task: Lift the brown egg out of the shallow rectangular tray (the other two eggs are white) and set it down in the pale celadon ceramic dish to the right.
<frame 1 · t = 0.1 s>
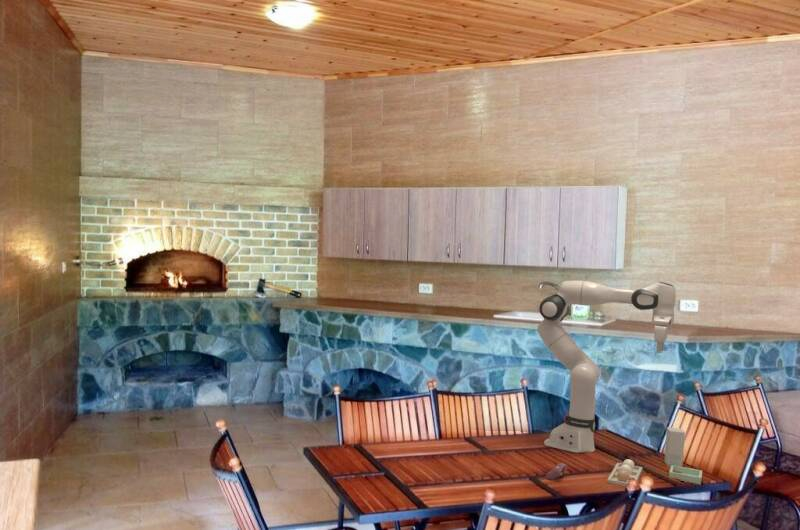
hand: (659, 351, 326), 48 cm above the table, tool pointing down, fingers open, 8 cm apart
white egg 1: (625, 476, 298), point 1 cm above the table, touching shallow rectangular tray
shallow rectangular tray: (625, 478, 298), on the table
dish: (685, 478, 305), on the table
skincare box: (672, 465, 324), on the table
brown animal figurine: (556, 478, 292), on the table
brown egg: (622, 481, 290), point 1 cm above the table, touching shallow rectangular tray
white egg 2: (628, 470, 306), point 1 cm above the table, touching shallow rectangular tray
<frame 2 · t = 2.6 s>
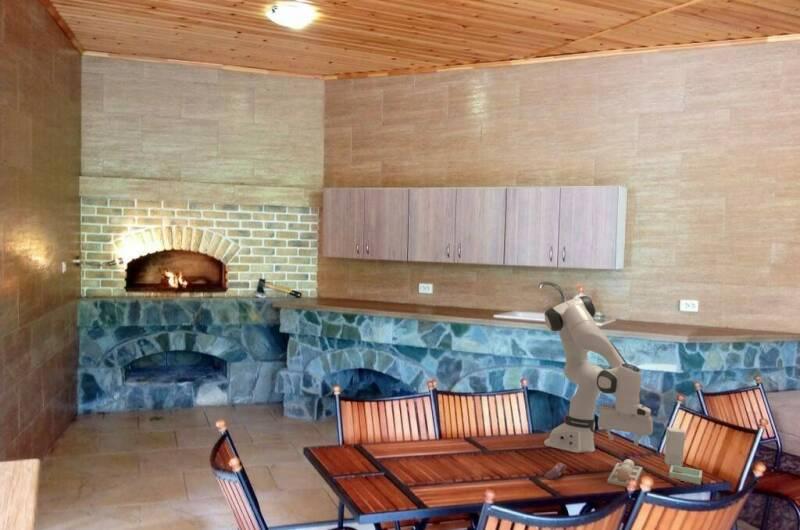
hand: (623, 442, 290), 16 cm above the table, tool pointing down, fingers open, 8 cm apart
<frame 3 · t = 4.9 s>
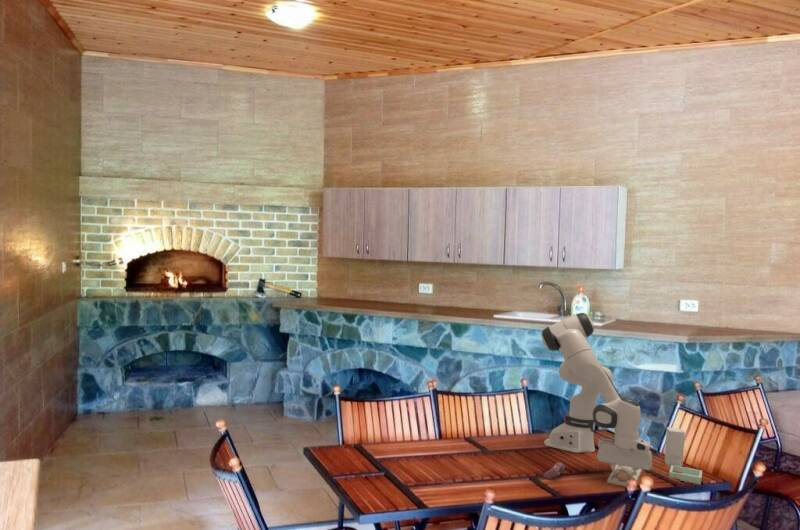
hand: (622, 476, 290), 3 cm above the table, tool pointing down, fingers closed on brown egg, 5 cm apart
brown egg: (622, 481, 290), point 1 cm above the table, touching shallow rectangular tray, gripper
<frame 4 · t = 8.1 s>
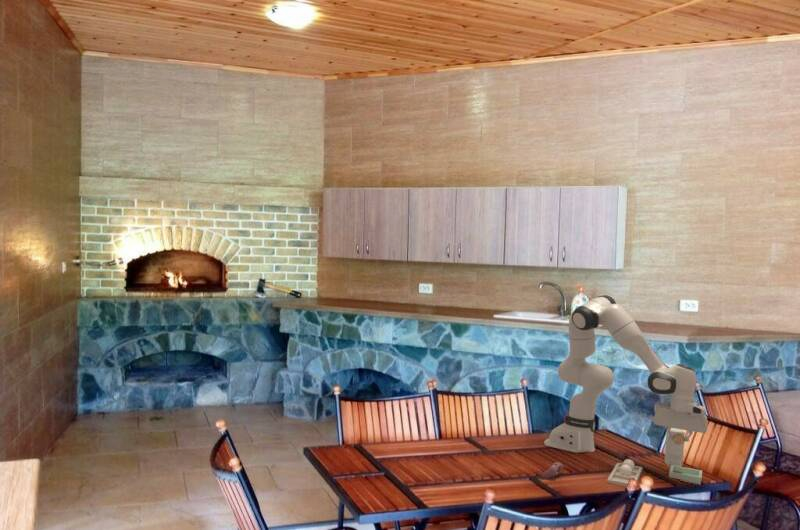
hand: (678, 439, 301), 16 cm above the table, tool pointing down, fingers closed on brown egg, 5 cm apart
brown egg: (678, 444, 301), point 14 cm above the table, touching gripper
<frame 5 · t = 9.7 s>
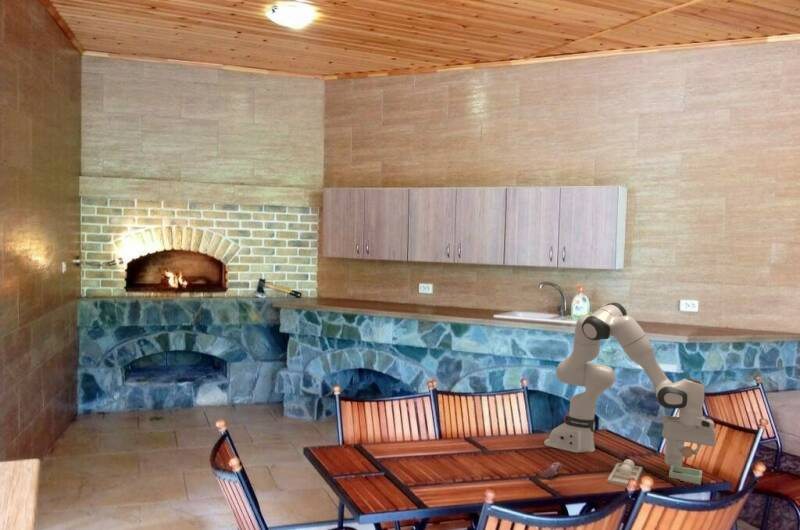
hand: (687, 453, 304), 11 cm above the table, tool pointing down, fingers closed on brown egg, 5 cm apart
brown egg: (686, 457, 304), point 9 cm above the table, touching gripper
when the fingers open (4 cm above the table, at t = 11.2 s): brown egg drops 2 cm, resting on dish.
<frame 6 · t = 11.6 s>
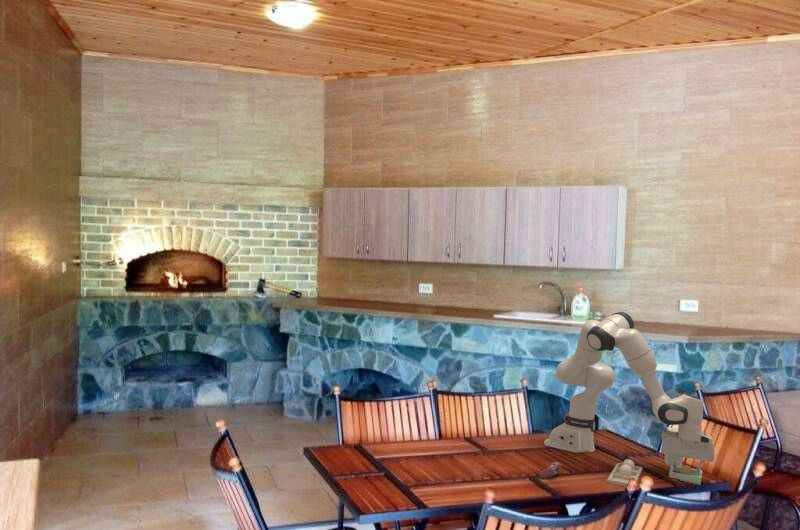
hand: (686, 468, 305), 4 cm above the table, tool pointing down, fingers open, 8 cm apart
brown egg: (685, 476, 305), point 1 cm above the table, touching dish
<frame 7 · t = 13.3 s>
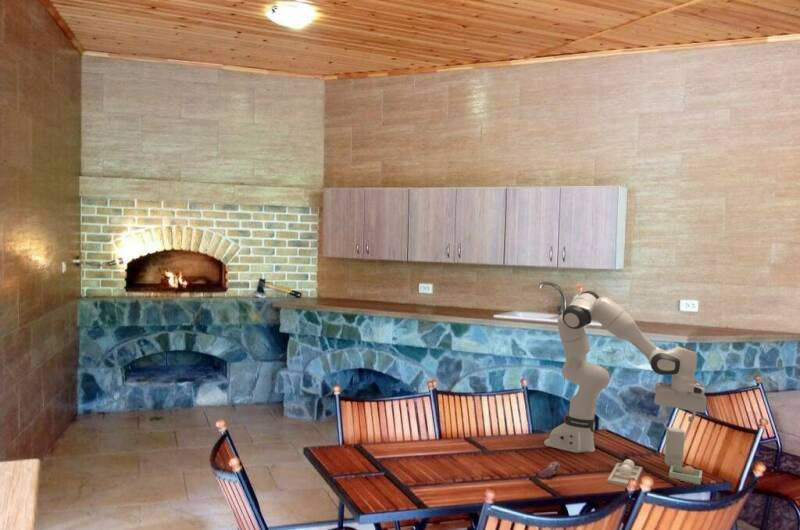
hand: (677, 419, 310), 23 cm above the table, tool pointing down, fingers open, 8 cm apart
brown egg: (685, 476, 305), point 1 cm above the table, tilted 26°, touching dish
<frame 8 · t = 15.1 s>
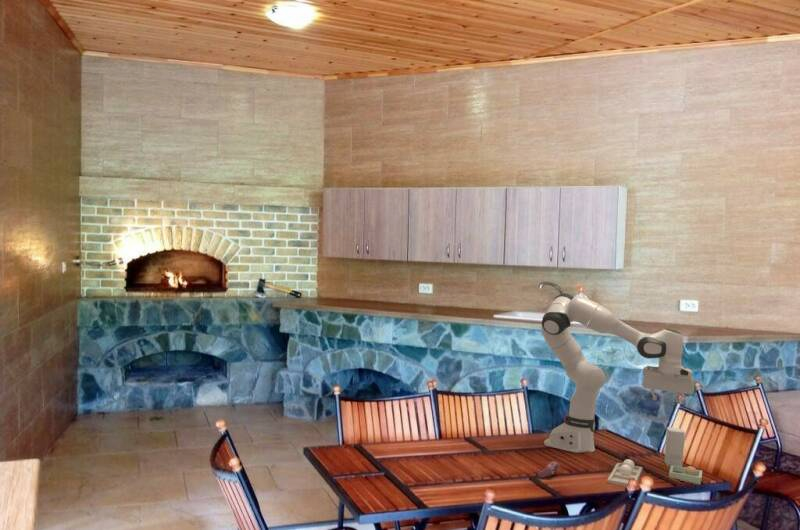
hand: (666, 401, 312), 29 cm above the table, tool pointing down, fingers open, 8 cm apart
brown egg: (686, 474, 305), point 2 cm above the table, tilted 50°, touching dish
at the end: brown egg inside the target area on the dish (0.2 cm from its centre), point 1.6 cm above the dish's base; the gripper is holding nothing; white egg 1 moved 0.0 cm from its start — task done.
